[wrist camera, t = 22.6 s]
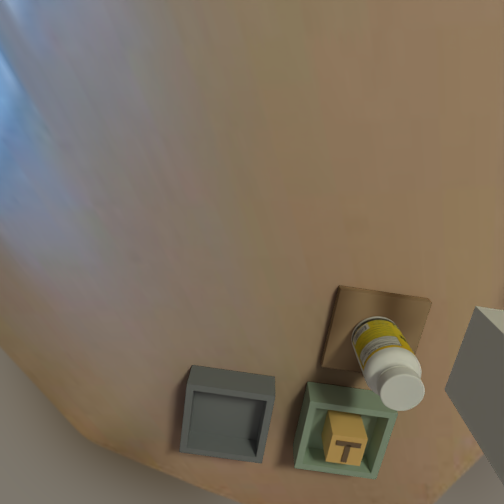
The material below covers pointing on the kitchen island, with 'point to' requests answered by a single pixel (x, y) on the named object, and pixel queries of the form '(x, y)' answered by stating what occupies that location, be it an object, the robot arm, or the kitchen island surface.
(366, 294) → the walnut pad
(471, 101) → the kitchen island surface
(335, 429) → the marked cube
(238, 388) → the charcoal bin
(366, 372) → the supplement bottle
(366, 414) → the sage bin
